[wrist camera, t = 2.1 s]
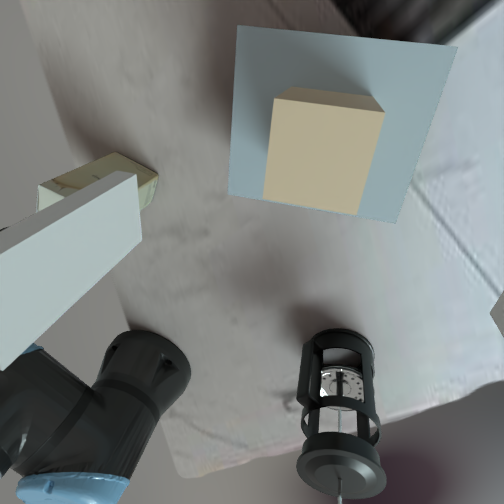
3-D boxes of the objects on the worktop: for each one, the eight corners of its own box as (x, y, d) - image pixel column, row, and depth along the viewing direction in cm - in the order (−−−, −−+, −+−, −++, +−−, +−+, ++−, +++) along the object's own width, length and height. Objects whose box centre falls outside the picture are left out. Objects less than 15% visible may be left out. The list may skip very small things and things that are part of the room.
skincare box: (160, 173, 41) (99, 214, 30) (151, 204, 43) (92, 250, 33) (113, 149, 40) (36, 182, 30) (107, 181, 43) (34, 221, 33)
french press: (391, 361, 47) (427, 574, 28) (339, 385, 52) (339, 582, 33) (335, 309, 45) (331, 502, 26) (286, 340, 50) (251, 522, 30)
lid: (231, 189, 32) (196, 233, 24) (241, 26, 25) (197, 13, 17) (393, 218, 30) (412, 275, 22) (453, 47, 23) (510, 43, 15)
